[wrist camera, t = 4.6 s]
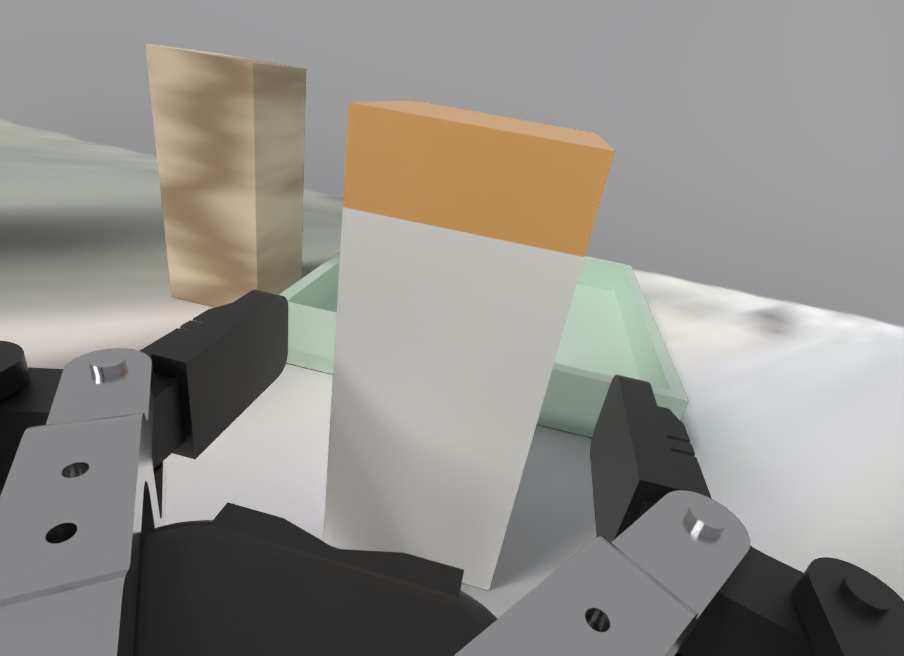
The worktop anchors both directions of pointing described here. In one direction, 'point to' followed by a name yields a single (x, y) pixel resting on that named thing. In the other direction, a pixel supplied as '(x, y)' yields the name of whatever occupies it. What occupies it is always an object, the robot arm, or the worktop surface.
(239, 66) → the plain box
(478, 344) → the labelled box
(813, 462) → the worktop surface
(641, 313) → the tray
